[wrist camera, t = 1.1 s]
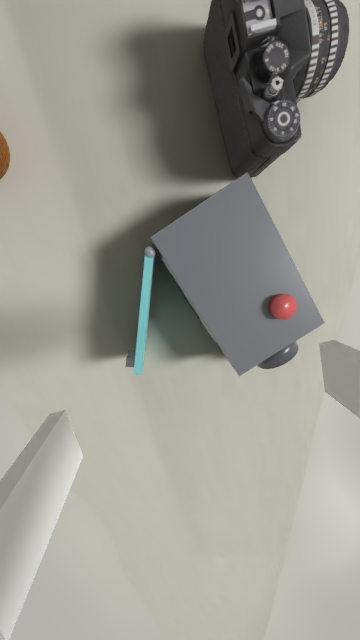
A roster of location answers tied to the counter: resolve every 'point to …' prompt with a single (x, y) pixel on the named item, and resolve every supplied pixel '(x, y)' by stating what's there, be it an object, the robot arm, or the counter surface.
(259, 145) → the camera
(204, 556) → the counter surface
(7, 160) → the disposable coffee cup
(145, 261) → the door
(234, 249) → the grey boxy piece
